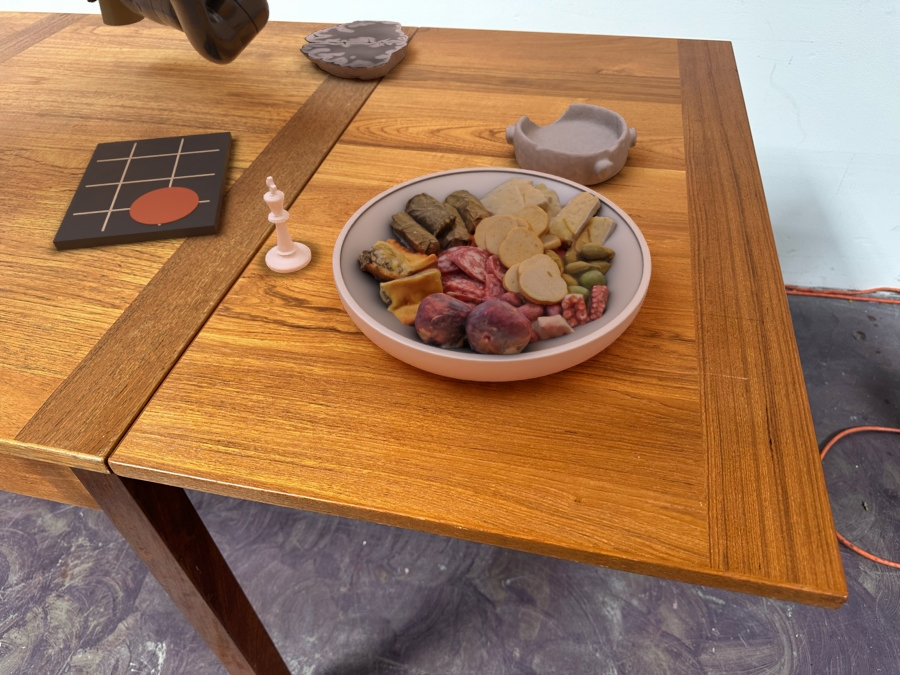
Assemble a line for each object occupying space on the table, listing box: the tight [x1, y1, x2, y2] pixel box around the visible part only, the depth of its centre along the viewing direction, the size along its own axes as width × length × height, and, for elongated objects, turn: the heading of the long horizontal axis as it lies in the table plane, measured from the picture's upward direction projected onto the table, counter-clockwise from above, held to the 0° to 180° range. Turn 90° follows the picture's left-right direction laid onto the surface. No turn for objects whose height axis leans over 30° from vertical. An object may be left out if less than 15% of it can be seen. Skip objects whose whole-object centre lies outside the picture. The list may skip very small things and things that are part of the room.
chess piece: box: [263, 175, 312, 274], centre depth 67 cm, size 5×5×10 cm
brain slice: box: [299, 20, 410, 81], centre depth 107 cm, size 20×17×3 cm
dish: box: [504, 102, 638, 186], centre depth 82 cm, size 14×14×5 cm
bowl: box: [331, 166, 652, 383], centre depth 64 cm, size 30×30×8 cm
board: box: [52, 131, 233, 252], centre depth 80 cm, size 17×22×2 cm
